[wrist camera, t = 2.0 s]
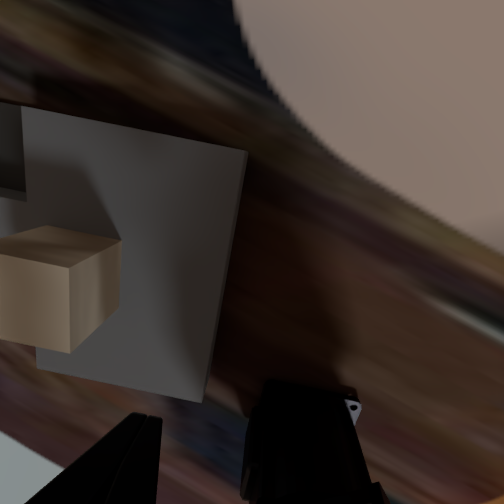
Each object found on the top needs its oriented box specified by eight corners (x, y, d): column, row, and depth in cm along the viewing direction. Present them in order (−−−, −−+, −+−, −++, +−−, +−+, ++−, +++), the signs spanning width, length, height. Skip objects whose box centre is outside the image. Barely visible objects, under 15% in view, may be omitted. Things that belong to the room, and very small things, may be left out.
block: (121, 240, 15) (68, 268, 11) (118, 307, 16) (69, 353, 12) (46, 225, 15) (-33, 247, 11) (49, 293, 16) (-21, 334, 12)
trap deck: (248, 152, 15) (245, 150, 13) (208, 379, 19) (201, 402, 18) (-122, 77, 15) (-179, 65, 13) (-74, 320, 20) (-111, 337, 18)
